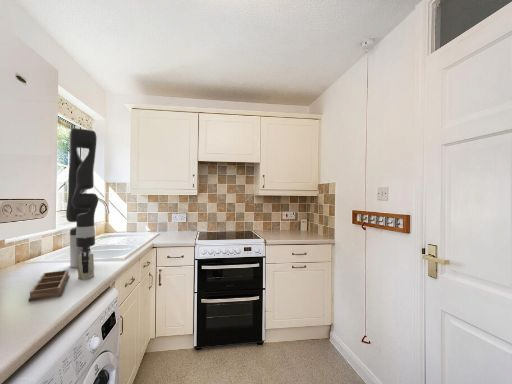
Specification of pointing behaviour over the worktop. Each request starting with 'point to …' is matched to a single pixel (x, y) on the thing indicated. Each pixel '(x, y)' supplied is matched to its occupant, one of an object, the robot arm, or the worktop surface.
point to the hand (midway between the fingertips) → (86, 270)
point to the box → (90, 268)
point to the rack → (49, 285)
